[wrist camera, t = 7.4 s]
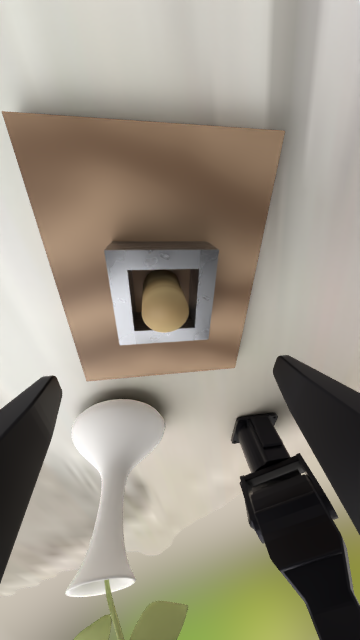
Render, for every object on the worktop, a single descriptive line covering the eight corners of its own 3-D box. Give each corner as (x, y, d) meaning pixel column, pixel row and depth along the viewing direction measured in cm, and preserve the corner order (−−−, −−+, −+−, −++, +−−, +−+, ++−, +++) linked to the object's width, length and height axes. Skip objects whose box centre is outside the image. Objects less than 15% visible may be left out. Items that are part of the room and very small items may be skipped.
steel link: (200, 320, 19) (208, 339, 16) (123, 324, 18) (119, 345, 15) (207, 241, 15) (219, 249, 13) (111, 241, 14) (103, 250, 12)
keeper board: (230, 358, 24) (252, 401, 19) (90, 370, 22) (72, 422, 17) (272, 137, 14) (346, 99, 9) (17, 121, 12) (-84, 59, 7)
